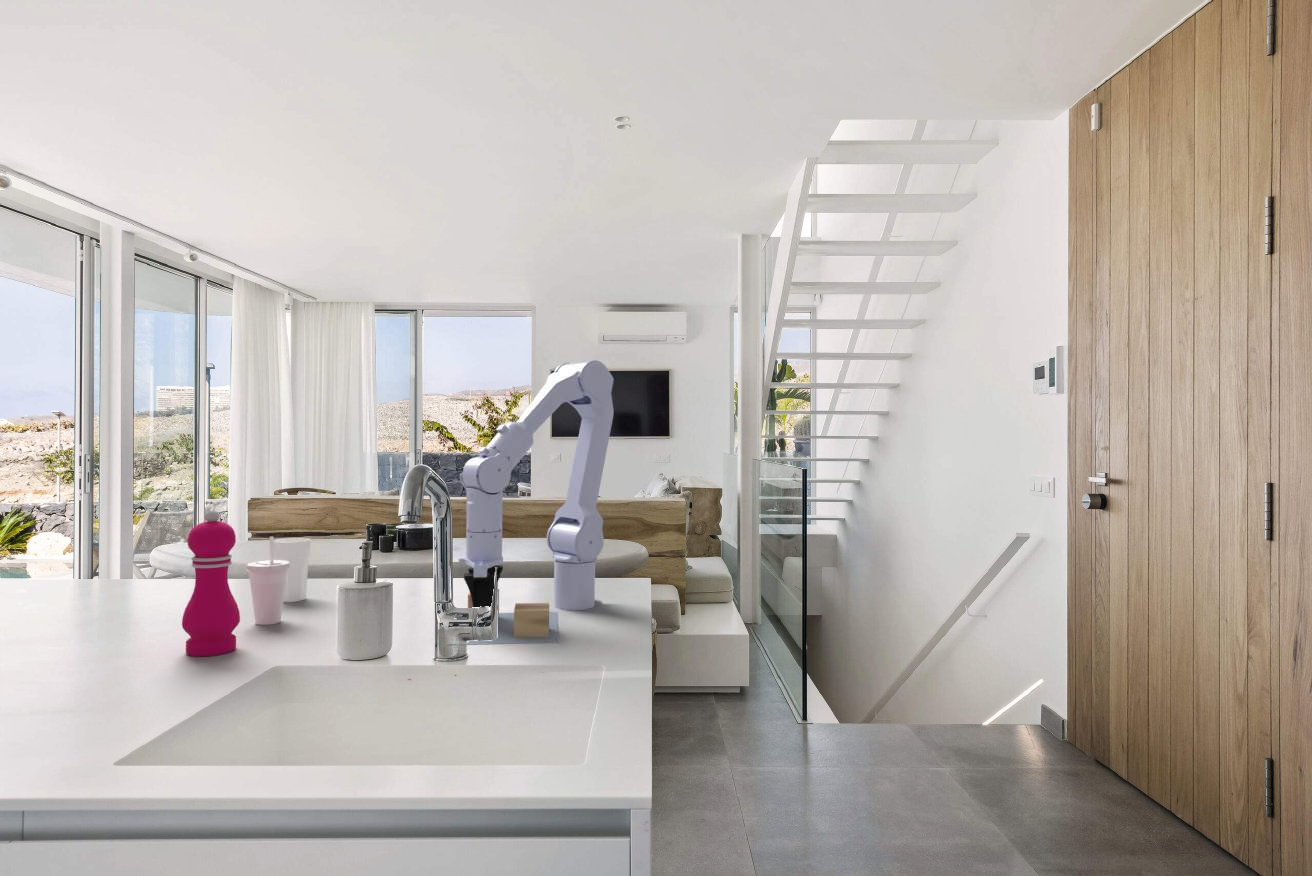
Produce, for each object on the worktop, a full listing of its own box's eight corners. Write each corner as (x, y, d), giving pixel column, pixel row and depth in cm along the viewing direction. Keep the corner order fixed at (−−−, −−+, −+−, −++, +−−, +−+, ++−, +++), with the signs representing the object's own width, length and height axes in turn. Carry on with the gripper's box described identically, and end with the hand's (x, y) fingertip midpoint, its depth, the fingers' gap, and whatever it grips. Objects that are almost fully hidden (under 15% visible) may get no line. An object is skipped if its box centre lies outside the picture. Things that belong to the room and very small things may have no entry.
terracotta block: (470, 617, 133) (470, 589, 133) (498, 616, 133) (499, 589, 133) (467, 623, 128) (467, 595, 128) (497, 623, 129) (497, 594, 129)
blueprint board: (461, 618, 135) (461, 613, 135) (557, 616, 137) (557, 611, 137) (446, 650, 115) (446, 645, 115) (558, 647, 117) (558, 642, 117)
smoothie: (272, 627, 127) (272, 539, 127) (236, 625, 129) (237, 538, 128) (297, 618, 134) (298, 534, 133) (264, 616, 135) (264, 533, 135)
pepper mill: (174, 659, 110) (175, 513, 109) (190, 645, 116) (191, 508, 116) (233, 656, 111) (234, 512, 111) (244, 642, 118) (245, 507, 118)
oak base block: (515, 629, 125) (515, 603, 125) (549, 628, 126) (549, 602, 126) (513, 637, 120) (514, 610, 120) (549, 636, 120) (549, 610, 120)
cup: (273, 596, 151) (274, 538, 151) (311, 595, 153) (312, 537, 153) (268, 604, 145) (268, 543, 144) (307, 602, 146) (308, 542, 146)
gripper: (464, 525, 137) (463, 604, 137) (453, 536, 123) (453, 625, 123) (506, 525, 138) (505, 604, 138) (500, 536, 124) (499, 624, 124)
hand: (483, 614), depth 131 cm, fingers closed on terracotta block, 5 cm apart
